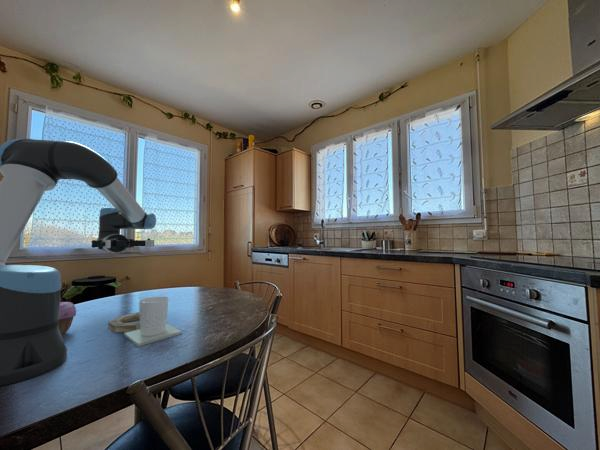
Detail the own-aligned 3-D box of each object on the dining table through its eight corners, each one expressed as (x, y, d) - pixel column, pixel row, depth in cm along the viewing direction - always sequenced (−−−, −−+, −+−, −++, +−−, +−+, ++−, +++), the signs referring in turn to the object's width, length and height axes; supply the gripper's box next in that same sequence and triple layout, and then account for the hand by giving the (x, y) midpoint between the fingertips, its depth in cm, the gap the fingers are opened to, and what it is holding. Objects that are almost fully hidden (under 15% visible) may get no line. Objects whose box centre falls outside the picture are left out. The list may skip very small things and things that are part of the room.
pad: (181, 333, 78) (181, 331, 78) (137, 346, 68) (138, 343, 68) (165, 325, 85) (165, 322, 85) (124, 335, 76) (124, 333, 76)
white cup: (157, 337, 73) (159, 302, 73) (131, 336, 73) (133, 302, 74) (172, 327, 81) (173, 296, 81) (148, 327, 81) (150, 296, 81)
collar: (150, 330, 81) (150, 324, 81) (99, 333, 78) (100, 326, 78) (166, 316, 95) (166, 311, 95) (124, 318, 92) (124, 313, 92)
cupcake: (28, 338, 74) (30, 304, 74) (62, 328, 82) (63, 297, 83) (49, 341, 72) (51, 306, 72) (82, 330, 80) (84, 299, 81)
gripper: (147, 251, 114) (167, 252, 100) (75, 253, 94) (87, 255, 81) (148, 234, 114) (168, 234, 100) (76, 233, 95) (88, 232, 81)
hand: (132, 243), depth 91 cm, fingers open, 13 cm apart
